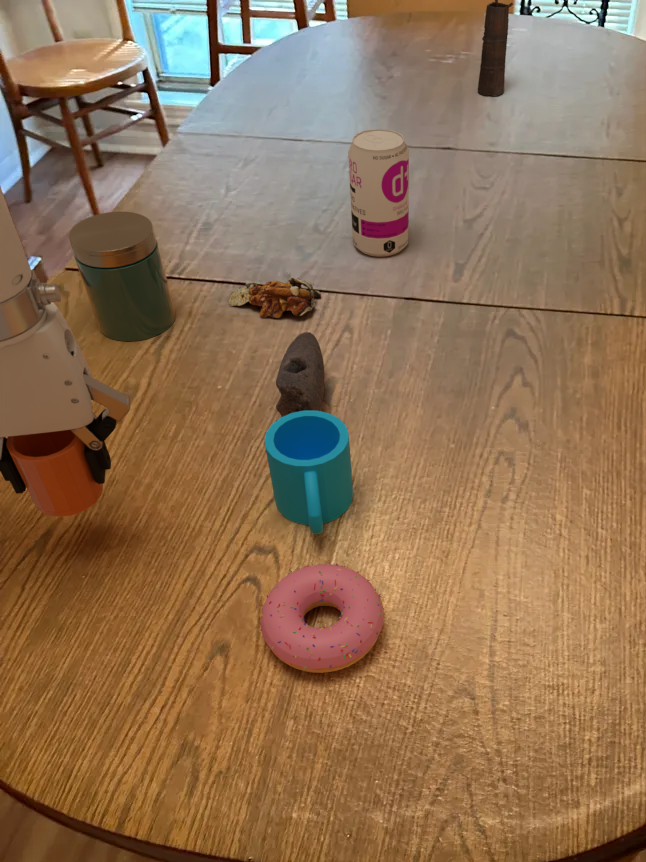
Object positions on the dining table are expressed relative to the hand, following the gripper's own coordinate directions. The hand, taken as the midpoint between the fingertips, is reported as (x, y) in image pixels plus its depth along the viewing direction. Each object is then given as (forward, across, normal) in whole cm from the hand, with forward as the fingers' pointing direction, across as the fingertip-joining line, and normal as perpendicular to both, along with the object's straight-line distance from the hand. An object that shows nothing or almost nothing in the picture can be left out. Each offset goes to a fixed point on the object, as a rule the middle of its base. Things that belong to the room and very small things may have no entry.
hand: (61, 476), depth 72 cm
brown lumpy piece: (+9, -22, -39) cm, 45 cm away
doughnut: (+8, -22, +15) cm, 28 cm away
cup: (+2, 0, 0) cm, 2 cm away
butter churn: (+8, -72, -107) cm, 129 cm away
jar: (+9, -4, -39) cm, 40 cm away
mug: (+9, -23, 0) cm, 24 cm away
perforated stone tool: (+9, -24, -18) cm, 31 cm away
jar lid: (-3, -3, -39) cm, 39 cm away
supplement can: (+9, -39, -52) cm, 65 cm away
